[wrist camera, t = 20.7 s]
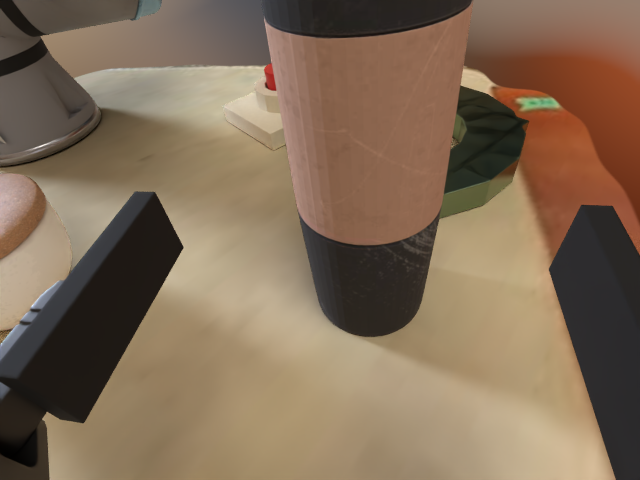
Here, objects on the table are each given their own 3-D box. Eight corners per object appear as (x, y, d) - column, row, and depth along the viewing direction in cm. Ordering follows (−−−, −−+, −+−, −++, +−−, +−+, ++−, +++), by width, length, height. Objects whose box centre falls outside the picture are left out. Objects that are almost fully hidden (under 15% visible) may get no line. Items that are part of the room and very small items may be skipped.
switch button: (261, 86, 43) (257, 68, 42) (288, 75, 45) (285, 57, 44) (281, 96, 41) (278, 77, 40) (309, 83, 43) (307, 65, 41)
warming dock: (260, 154, 40) (254, 133, 38) (394, 85, 48) (395, 65, 47) (416, 259, 28) (419, 235, 26) (560, 143, 36) (570, 118, 34)
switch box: (226, 121, 46) (217, 88, 43) (303, 86, 51) (299, 55, 48) (273, 150, 40) (266, 115, 38) (355, 108, 45) (353, 74, 42)
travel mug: (388, 238, 30) (402, -105, 16) (450, 311, 25) (554, -102, 10) (298, 274, 28) (221, -74, 14) (343, 361, 23) (295, -51, 9)
